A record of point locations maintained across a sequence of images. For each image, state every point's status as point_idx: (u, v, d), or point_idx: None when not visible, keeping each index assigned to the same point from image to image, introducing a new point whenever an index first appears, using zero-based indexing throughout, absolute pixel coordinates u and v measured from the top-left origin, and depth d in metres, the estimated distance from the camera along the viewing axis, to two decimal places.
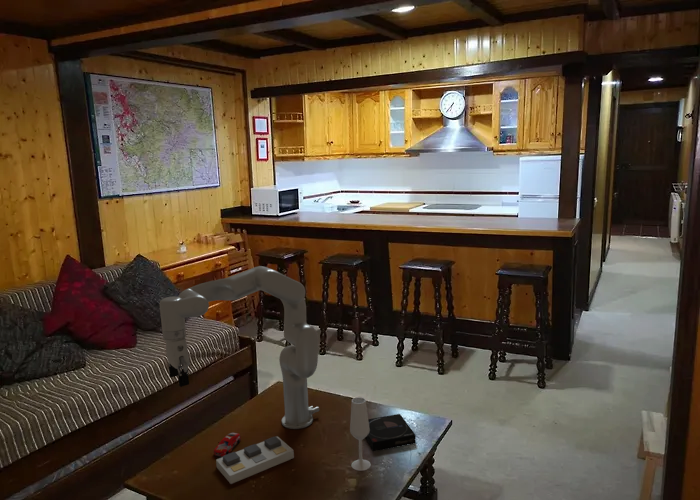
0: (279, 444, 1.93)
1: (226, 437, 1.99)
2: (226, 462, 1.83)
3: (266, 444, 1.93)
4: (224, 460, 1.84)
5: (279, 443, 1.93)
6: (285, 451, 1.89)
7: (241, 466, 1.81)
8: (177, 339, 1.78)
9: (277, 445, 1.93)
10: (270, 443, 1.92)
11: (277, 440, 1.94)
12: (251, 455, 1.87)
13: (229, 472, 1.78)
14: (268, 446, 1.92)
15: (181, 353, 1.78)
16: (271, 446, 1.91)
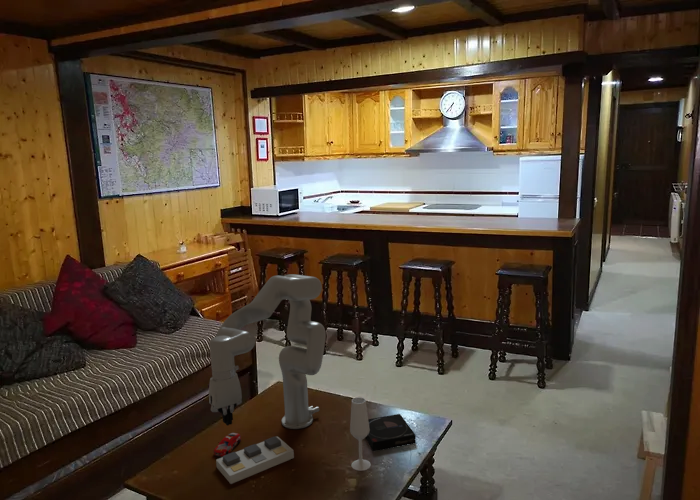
0: (279, 444, 1.93)
1: (226, 437, 1.99)
2: (226, 462, 1.83)
3: (266, 444, 1.93)
4: (224, 460, 1.84)
5: (279, 443, 1.93)
6: (285, 451, 1.89)
7: (241, 466, 1.81)
8: None
9: (277, 445, 1.93)
10: (270, 443, 1.92)
11: (277, 440, 1.94)
12: (251, 455, 1.87)
13: (229, 472, 1.78)
14: (268, 446, 1.92)
15: None
16: (271, 446, 1.91)
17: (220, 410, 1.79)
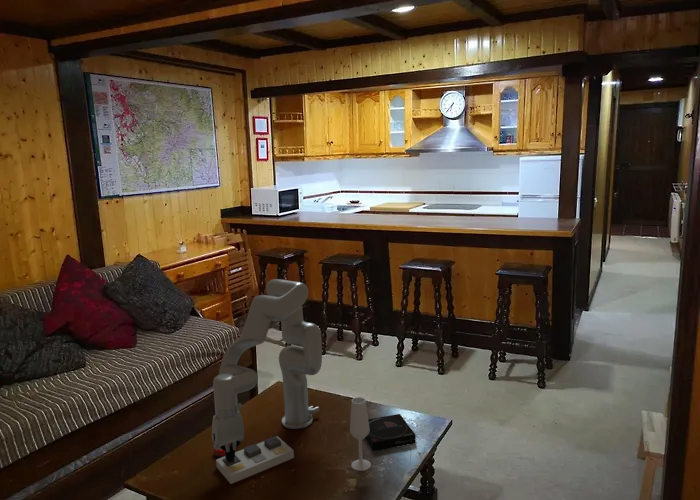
0: (279, 444, 1.93)
1: None
2: None
3: (266, 444, 1.93)
4: None
5: (279, 443, 1.93)
6: (285, 451, 1.89)
7: (241, 466, 1.81)
8: None
9: (277, 445, 1.93)
10: (270, 443, 1.92)
11: (277, 440, 1.94)
12: (251, 455, 1.87)
13: (229, 472, 1.78)
14: (268, 446, 1.92)
15: None
16: (271, 446, 1.91)
17: (223, 447, 1.81)
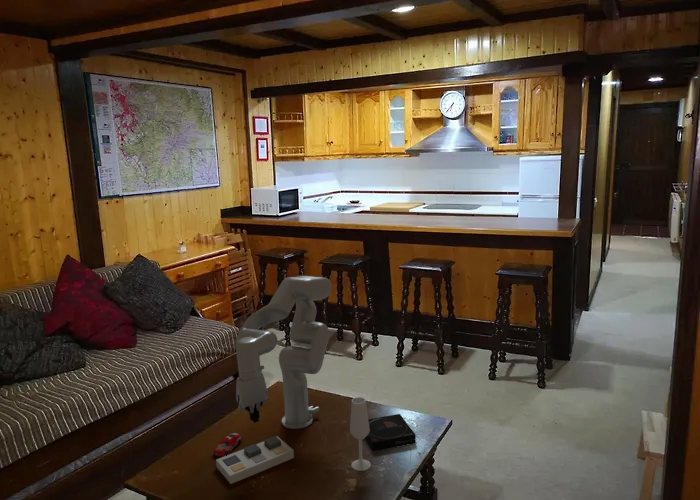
0: (279, 444, 1.93)
1: (227, 437, 1.99)
2: None
3: (266, 444, 1.93)
4: None
5: (279, 443, 1.93)
6: (285, 451, 1.89)
7: (241, 466, 1.81)
8: None
9: (277, 445, 1.93)
10: (270, 443, 1.92)
11: (277, 440, 1.94)
12: (251, 455, 1.87)
13: (229, 472, 1.78)
14: (268, 446, 1.92)
15: None
16: (271, 446, 1.91)
17: (247, 408, 1.85)
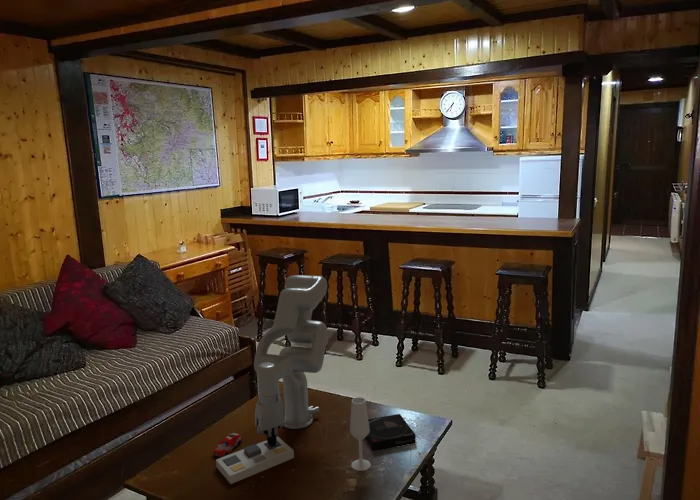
0: None
1: (227, 437, 1.98)
2: None
3: None
4: None
5: None
6: (285, 451, 1.89)
7: (241, 466, 1.81)
8: None
9: None
10: (270, 446, 1.92)
11: (277, 443, 1.94)
12: (251, 455, 1.87)
13: (229, 472, 1.78)
14: None
15: None
16: None
17: (265, 432, 1.90)
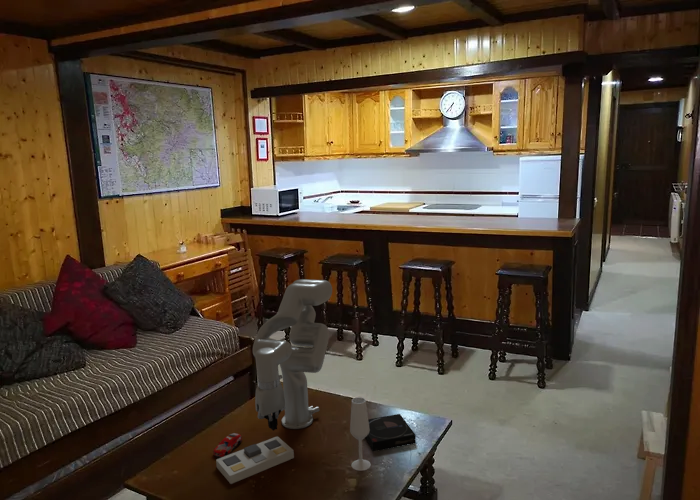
0: None
1: (227, 437, 1.98)
2: None
3: None
4: None
5: None
6: (285, 451, 1.89)
7: (241, 466, 1.81)
8: None
9: None
10: (270, 447, 1.92)
11: (277, 444, 1.94)
12: (251, 455, 1.87)
13: (229, 472, 1.78)
14: None
15: None
16: None
17: (266, 417, 1.91)
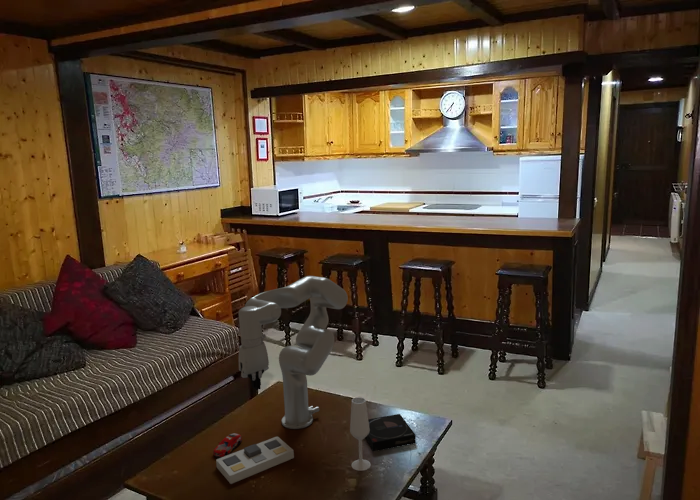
0: None
1: (227, 438, 1.98)
2: None
3: None
4: None
5: None
6: (285, 451, 1.89)
7: (241, 466, 1.81)
8: None
9: None
10: (270, 447, 1.92)
11: (277, 444, 1.94)
12: (251, 455, 1.87)
13: (229, 472, 1.78)
14: None
15: None
16: None
17: (249, 376, 1.91)
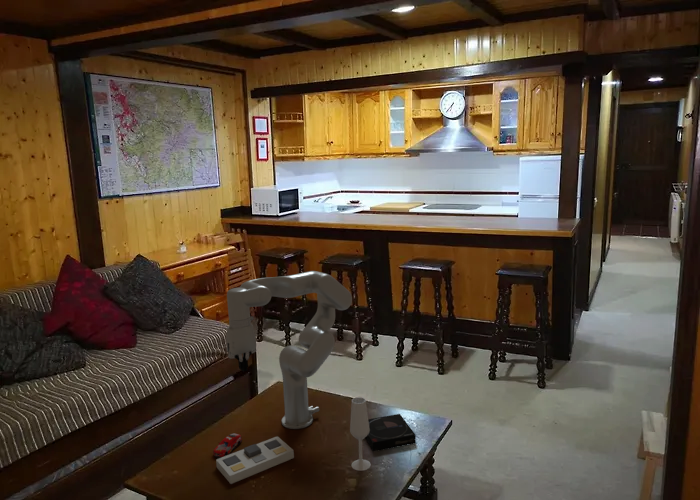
0: None
1: (226, 438, 1.98)
2: None
3: None
4: None
5: None
6: (285, 451, 1.89)
7: (241, 466, 1.81)
8: None
9: None
10: (270, 447, 1.92)
11: (277, 444, 1.94)
12: (251, 455, 1.87)
13: (229, 472, 1.78)
14: None
15: None
16: None
17: (236, 357, 1.93)
